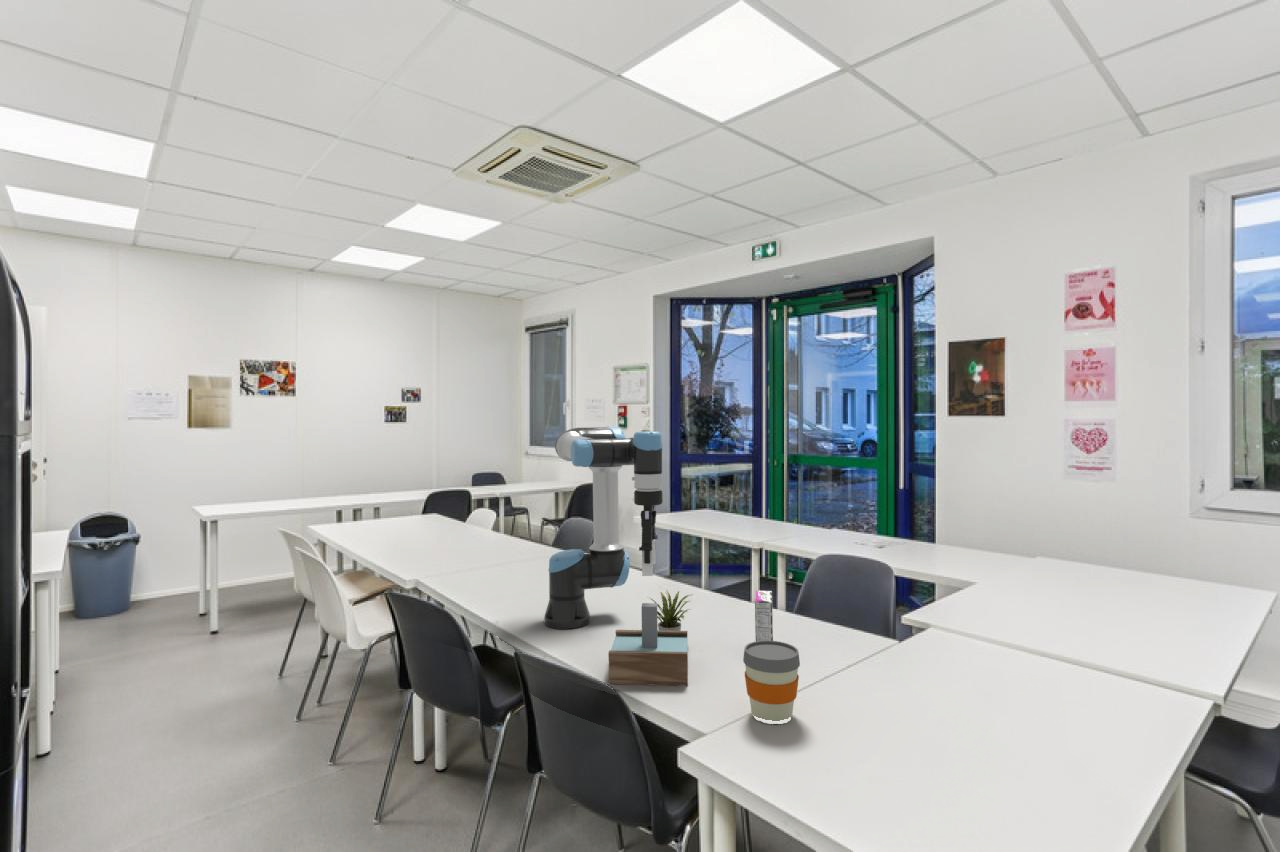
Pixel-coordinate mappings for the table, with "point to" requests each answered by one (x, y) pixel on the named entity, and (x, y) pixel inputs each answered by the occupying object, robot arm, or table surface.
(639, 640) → the cover plate
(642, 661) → the walnut box
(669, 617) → the house plant
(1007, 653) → the table surface
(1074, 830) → the table surface
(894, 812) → the table surface
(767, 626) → the candy bar box
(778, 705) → the reusable coffee cup
